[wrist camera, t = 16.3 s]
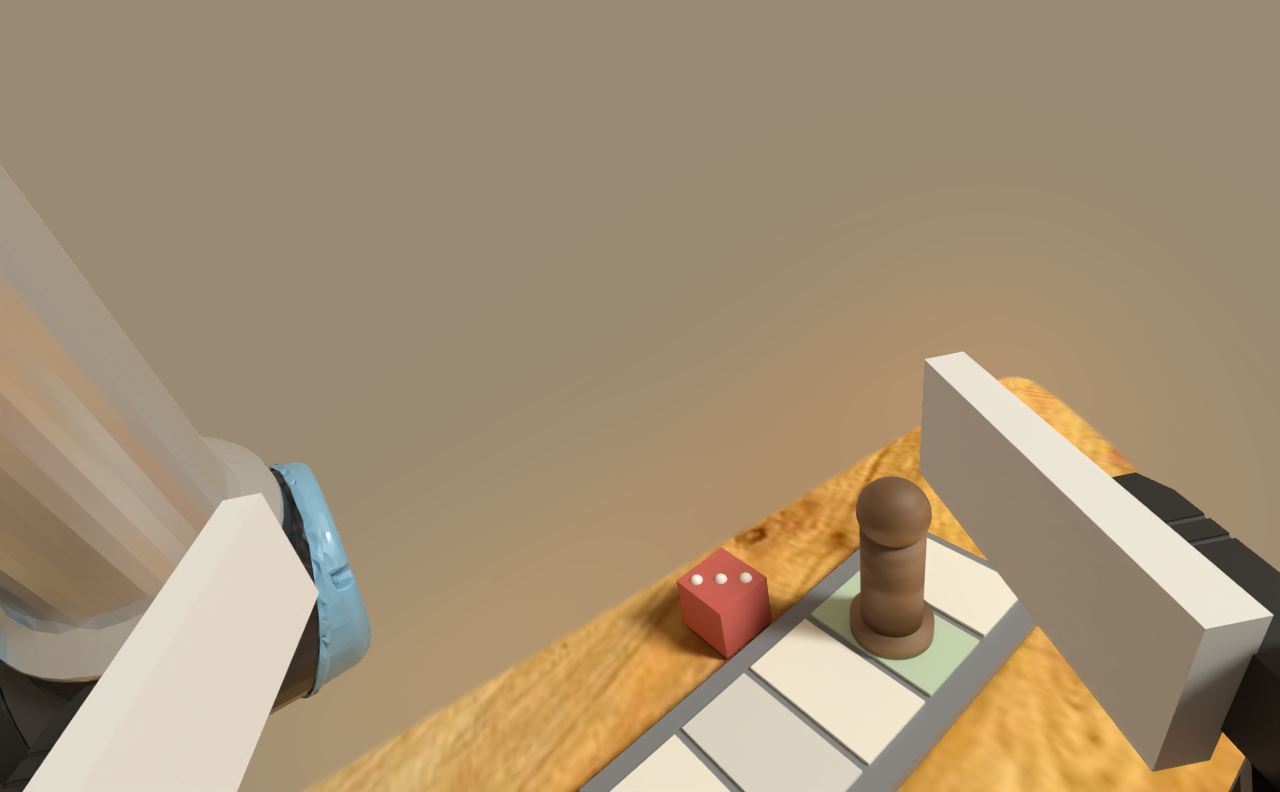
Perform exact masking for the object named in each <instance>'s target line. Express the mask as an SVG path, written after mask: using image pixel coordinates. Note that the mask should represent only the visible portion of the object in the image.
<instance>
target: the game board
mask: <svg viewBox="0 0 1280 792" xmlns="http://www.w3.org/2000/svg"><path fill="white" fill-rule="evenodd" d="M858 593H860V548H859V549H858V550H857V551H856V552H855V553H854V554H852V555H851V556H850V557H849V558H848V559H847V560H846V561H844V562H843V563H842V564H841V565H840V566H839V567H837V568H836V569H835V570H834V571H833V572H832V573H830V574H829V575H828V576H827V577H826V578H825V579H823V580H822V581H821V582H820V583H819V584H818V585H816V586H815V587H814V588H813V589H812V590H811V591H810V592H808V593H807V594H806V595H805V596H804V597H803V598H801V599H800V600H799V601H798V602H797V603H796V604H794V605H793V606H792V607H791V608H790V609H789V610H787V611H786V612H785V613H784V614H783V615H782V616H780V617H779V618H778V619H777V620H776V621H775V622H774V623H772V624H771V625H770V626H769V627H768V628H767V629H765V630H764V631H763V632H762V633H761V634H760V635H758V636H757V637H756V638H755V639H754V640H753V641H751V642H750V643H749V644H748V645H747V646H746V647H744V648H743V649H742V650H741V651H740V652H739V653H738V654H736V655H735V656H734V657H733V658H732V659H731V660H729V661H728V662H727V663H726V664H725V665H724V666H722V667H721V668H720V669H719V670H718V671H717V672H715V673H714V674H713V675H712V676H711V677H710V678H709V679H707V680H706V681H705V682H704V683H703V684H702V685H700V686H699V687H698V688H697V689H696V690H695V691H693V692H692V693H691V694H690V695H689V696H688V697H686V698H685V699H684V700H683V701H682V702H681V703H679V704H678V705H677V706H676V707H675V708H674V709H673V710H671V711H670V712H669V713H668V714H667V715H666V716H664V717H663V718H662V719H661V720H660V721H659V722H657V723H656V724H655V725H654V726H653V727H652V728H650V729H649V730H648V731H647V732H646V733H645V734H643V735H642V736H641V737H640V738H639V739H638V740H637V741H635V742H634V743H633V744H632V745H631V746H630V747H628V748H627V749H626V750H625V751H624V752H623V753H621V754H620V755H619V756H618V757H617V758H616V759H614V760H613V761H612V762H611V763H610V764H609V765H607V766H606V767H605V768H604V769H603V770H602V771H601V772H599V773H598V774H597V775H596V776H595V777H594V778H592V779H591V780H590V781H589V782H588V783H587V784H585V785H584V786H583V787H582V788H581V789H580V790H579V792H896V791H897V790H898V789H899V788H900V787H901V785H902V784H903V783H904V782H905V781H906V779H907V778H908V777H909V776H910V775H911V774H912V772H913V771H914V770H915V769H916V768H917V766H918V765H919V764H920V763H921V762H922V761H923V759H924V758H925V757H926V756H927V755H928V753H929V752H930V751H931V750H932V749H933V748H934V746H935V745H936V744H937V743H938V742H939V741H940V739H941V738H942V737H943V736H944V735H945V733H946V732H947V731H948V730H949V729H950V728H951V726H952V725H953V724H954V723H955V722H956V720H957V719H958V718H959V717H960V716H961V715H962V713H963V712H964V711H965V710H966V709H967V707H968V706H969V705H970V704H971V703H972V702H973V700H974V699H975V698H976V697H977V696H978V695H979V693H980V692H981V691H982V690H983V689H984V687H985V686H986V685H987V684H988V683H989V682H990V680H991V679H992V678H993V677H994V676H995V674H996V673H997V672H998V671H999V670H1000V669H1001V667H1002V666H1003V665H1004V664H1005V663H1006V661H1007V660H1008V659H1009V658H1010V657H1011V656H1012V654H1013V653H1014V652H1015V651H1016V650H1017V649H1018V647H1019V646H1020V645H1021V644H1022V643H1023V641H1024V640H1025V639H1026V638H1027V637H1028V636H1029V634H1030V633H1031V632H1032V631H1033V630H1034V628H1035V627H1036V626H1037V625H1038V624H1037V623H1036V621H1035V620H1034V619H1033V618H1032V616H1031V615H1030V614H1029V612H1028V611H1027V610H1026V609H1025V607H1024V606H1023V605H1022V603H1021V602H1020V601H1019V600H1018V598H1017V597H1016V596H1015V594H1014V593H1013V592H1012V591H1011V589H1010V588H1009V587H1008V585H1007V584H1006V583H1005V582H1004V580H1003V579H1002V578H1001V576H1000V575H999V574H998V573H997V571H996V570H995V569H994V567H993V566H992V565H991V564H990V562H988V561H986V560H984V559H982V558H980V557H978V556H976V555H974V554H972V553H970V552H968V551H966V550H964V549H962V548H960V547H958V546H955V545H953V544H951V543H949V542H947V541H945V540H943V539H941V538H939V537H937V536H935V535H933V534H931V533H929V532H927V545H926V565H925V585H924V600H925V601H926V602H927V603H928V604H929V605H930V607H931V609H932V611H933V613H934V618H935V625H934V637H933V641H932V643H931V645H930V647H929V648H928V649H927V650H926V651H925V652H924V653H922V654H921V655H919V656H916V657H914V658H910V659H905V660H892V659H886V658H882V657H879V656H877V655H874V654H872V653H870V652H869V651H867V650H866V649H864V648H863V647H862V646H861V645H860V644H859V643H858V642H857V641H856V640H855V638H854V636H853V634H852V632H851V628H850V605H851V602H852V600H853V599H854V597H855V596H856V595H857V594H858Z"/></svg>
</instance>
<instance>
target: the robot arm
mask: <svg viewBox="0 0 1280 792" xmlns="http://www.w3.org/2000/svg"><path fill="white" fill-rule="evenodd" d="M919 472H920V473H921V475H922V476H923V477H924V479H925V480H926V481H927V482H928V484H929V485H930V486H931V488H932V489H933V490H934V491H935V493H936V494H937V495H938V497H939V498H940V499H941V500H942V502H943V503H944V504H945V506H946V507H947V508H948V509H949V511H950V512H951V513H952V515H953V516H954V517H955V518H956V520H957V521H958V522H959V524H960V525H961V526H962V528H963V529H964V530H965V531H966V533H967V534H968V535H969V537H970V538H971V539H972V540H973V542H974V543H975V544H976V546H977V547H978V548H979V549H980V551H981V552H982V553H983V555H984V556H985V557H986V558H987V560H988V561H989V562H990V564H991V565H992V566H993V567H994V569H995V570H996V571H997V573H998V574H999V575H1000V576H1001V578H1002V579H1003V580H1004V582H1005V583H1006V584H1007V585H1008V587H1009V588H1010V589H1011V591H1012V592H1013V593H1014V594H1015V596H1016V597H1017V598H1018V600H1019V601H1020V602H1021V603H1022V605H1023V606H1024V607H1025V609H1026V610H1027V611H1028V612H1029V614H1030V615H1031V616H1032V618H1033V619H1034V620H1035V621H1036V623H1037V624H1038V625H1039V627H1040V628H1041V629H1042V630H1043V632H1044V633H1045V634H1046V636H1047V637H1048V638H1049V639H1050V641H1051V642H1052V643H1053V645H1054V646H1055V647H1056V648H1057V650H1058V651H1059V652H1060V654H1061V655H1062V656H1063V657H1064V659H1065V660H1066V661H1067V663H1068V664H1069V665H1070V666H1071V668H1072V669H1073V670H1074V672H1075V673H1076V674H1077V675H1078V677H1079V678H1080V679H1081V681H1082V682H1083V683H1084V684H1085V686H1086V687H1087V688H1088V690H1089V691H1090V692H1091V693H1092V695H1093V696H1094V697H1095V699H1096V700H1097V701H1098V702H1099V704H1100V705H1101V706H1102V708H1103V709H1104V710H1105V711H1106V713H1107V714H1108V715H1109V717H1110V718H1111V719H1112V720H1113V722H1114V723H1115V724H1116V726H1117V727H1118V728H1119V729H1120V731H1121V732H1122V733H1123V735H1124V736H1125V737H1126V739H1127V740H1128V741H1129V742H1130V744H1131V745H1132V746H1133V748H1134V749H1135V750H1136V751H1137V753H1138V754H1139V755H1140V757H1141V758H1142V759H1143V760H1144V762H1145V763H1146V764H1147V766H1148V767H1149V768H1150V769H1151V771H1152V772H1154V771H1159V770H1164V769H1169V768H1174V767H1179V766H1183V765H1188V764H1193V763H1198V762H1203V761H1208V760H1210V759H1211V756H1212V754H1213V752H1214V750H1215V747H1216V745H1217V743H1218V740H1219V738H1220V736H1221V734H1222V732H1223V733H1224V734H1225V735H1226V736H1227V737H1228V738H1229V739H1230V740H1231V741H1232V743H1233V744H1234V745H1235V746H1236V747H1237V748H1238V749H1239V750H1240V751H1241V752H1242V753H1243V755H1244V756H1245V759H1244V761H1243V763H1242V765H1241V767H1240V770H1239V772H1238V774H1237V776H1236V778H1235V780H1234V782H1233V784H1232V786H1231V788H1230V790H1229V792H1280V572H1278V571H1277V570H1276V569H1275V568H1273V567H1272V566H1271V565H1270V564H1268V563H1267V562H1266V561H1264V560H1263V559H1262V558H1260V557H1259V556H1258V555H1257V554H1255V553H1254V552H1253V551H1251V550H1250V549H1249V548H1247V547H1246V546H1245V545H1244V544H1243V543H1241V542H1240V541H1239V540H1238V539H1236V538H1234V539H1232V538H1231V537H1230V536H1229V533H1228V532H1227V531H1226V530H1225V529H1223V528H1222V527H1221V526H1220V525H1218V524H1217V523H1216V522H1215V521H1213V520H1212V519H1211V518H1209V519H1206V518H1205V516H1204V513H1203V512H1202V511H1200V510H1199V509H1198V508H1197V507H1195V506H1194V505H1193V504H1191V503H1190V502H1189V501H1187V500H1186V499H1185V498H1184V497H1183V496H1181V495H1180V494H1179V493H1177V492H1176V491H1175V490H1173V489H1171V488H1169V487H1167V486H1164V485H1162V484H1160V483H1158V482H1156V481H1153V480H1151V479H1149V478H1147V477H1145V476H1142V475H1140V474H1138V473H1131V474H1126V475H1121V476H1116V477H1110V476H1109V475H1108V474H1107V473H1105V472H1104V471H1103V470H1102V469H1101V468H1100V467H1098V466H1097V465H1096V464H1095V463H1094V462H1093V461H1091V460H1090V459H1089V458H1088V457H1087V456H1085V455H1084V454H1083V453H1082V452H1081V451H1080V450H1078V449H1077V448H1076V447H1075V446H1074V445H1073V444H1071V443H1070V442H1069V441H1068V440H1067V439H1065V438H1064V437H1063V436H1062V435H1061V434H1060V433H1058V432H1057V431H1056V430H1055V429H1054V428H1052V427H1051V426H1050V425H1049V424H1048V423H1047V422H1045V421H1044V420H1043V419H1042V418H1041V417H1040V416H1038V415H1037V414H1036V413H1035V412H1034V411H1032V410H1031V409H1030V408H1029V407H1028V406H1027V405H1025V404H1024V403H1023V402H1022V401H1021V400H1019V399H1018V398H1017V397H1016V396H1015V395H1014V394H1012V393H1011V392H1010V391H1009V390H1008V389H1007V388H1005V387H1004V386H1003V385H1002V384H1001V383H999V382H998V381H997V380H996V379H995V378H993V377H992V376H991V375H990V374H989V373H988V372H986V371H985V370H984V369H983V368H982V367H981V366H979V365H978V364H977V363H976V362H974V360H972V359H971V358H970V357H969V356H968V355H966V354H965V353H964V352H960V353H954V354H949V355H944V356H939V357H934V358H929V359H925V362H924V382H923V402H922V423H921V443H920V464H919ZM370 641H371V629H370V624H369V620H368V617H367V613H366V610H365V606H364V603H363V600H362V597H361V594H360V591H359V589H358V586H357V583H356V580H355V578H354V576H353V573H352V572H351V571H350V564H349V562H348V559H347V556H346V553H345V549H344V546H343V544H342V541H341V538H340V536H339V533H338V531H337V528H336V525H335V523H334V520H333V518H332V515H331V513H330V510H329V508H328V505H327V503H326V500H325V498H324V496H323V493H322V491H321V489H320V487H319V484H318V482H317V480H316V478H315V476H314V474H313V472H312V470H311V469H310V468H309V467H308V466H307V465H306V464H303V463H299V462H292V463H289V464H286V465H282V464H275V465H274V466H270V467H267V466H266V464H265V463H263V461H261V459H260V458H259V457H258V456H257V455H255V454H254V453H252V452H250V451H249V450H248V449H246V448H244V447H241V446H239V445H237V444H234V443H231V442H227V441H224V440H221V439H215V438H208V437H200V436H199V434H198V433H197V431H196V430H195V429H194V428H193V426H192V425H191V423H190V422H189V421H188V419H187V418H186V416H185V415H184V414H183V413H182V411H181V410H180V408H179V407H178V406H177V405H176V403H175V402H174V400H173V399H172V397H171V396H170V395H169V393H168V392H167V391H166V389H165V388H164V386H163V385H162V384H161V382H160V381H159V380H158V378H157V377H156V376H155V374H154V373H153V371H152V370H151V369H150V368H149V366H148V365H147V363H146V362H145V361H144V359H143V358H142V356H141V355H140V354H139V352H138V351H137V350H136V348H135V347H134V345H133V344H132V343H131V341H130V340H129V339H128V337H127V336H126V335H125V333H124V332H123V330H122V329H121V328H120V326H119V325H118V324H117V322H116V321H115V320H114V318H113V317H112V315H111V314H110V313H109V311H108V310H107V309H106V307H105V306H104V305H103V303H102V302H101V301H100V299H99V298H98V297H97V295H96V294H95V292H94V291H93V290H92V288H91V287H90V286H89V284H88V283H87V281H86V280H85V279H84V277H83V276H82V275H81V273H80V272H79V271H78V269H77V268H76V266H75V265H74V264H73V262H72V261H71V260H70V258H69V257H68V256H67V254H66V253H65V251H64V250H63V249H62V247H61V246H60V244H59V243H58V242H57V240H56V239H55V238H54V236H53V235H52V234H51V232H50V231H49V229H48V228H47V227H46V225H45V224H44V223H43V221H42V220H41V219H40V217H39V216H38V214H37V213H36V212H35V210H34V209H33V208H32V206H31V205H30V204H29V202H28V201H27V199H26V198H25V197H24V195H23V194H22V193H21V191H20V190H19V189H18V187H17V186H16V185H15V183H14V182H13V180H12V179H11V178H10V176H9V175H8V174H7V172H6V171H5V169H4V168H3V167H2V165H1V164H0V792H237V790H238V788H239V786H240V783H241V781H242V779H243V776H244V774H245V771H246V769H247V766H248V764H249V761H250V759H251V757H252V754H253V752H254V749H255V747H256V745H257V742H258V740H259V737H260V735H261V732H262V730H263V728H264V725H265V723H266V720H267V718H268V716H269V715H270V714H272V713H274V712H275V711H277V710H279V709H281V708H282V707H285V706H286V705H288V704H290V703H292V702H293V701H295V700H297V699H299V698H308V697H311V696H313V695H315V694H316V693H317V692H318V691H319V690H320V689H321V687H322V685H324V684H326V683H327V682H329V681H331V680H332V679H334V678H335V677H337V676H339V675H340V674H342V673H343V672H345V671H347V670H348V669H350V668H351V667H353V666H355V665H356V664H357V663H359V661H360V660H361V659H362V658H363V657H364V655H365V654H366V652H367V650H368V648H369V645H370Z"/></svg>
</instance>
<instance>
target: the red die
mask: <svg viewBox="0 0 1280 792" xmlns="http://www.w3.org/2000/svg"><path fill="white" fill-rule="evenodd" d="M677 586H678V591H679V596H680V601H681V606H682V610H683V615H684V620H685V624H686V625H687V626H688V627H690V628H691V629H692V630H693V631H694V632H696V633H697V634H698V635H699V636H700V637H702V638H703V639H704V640H705V641H706V642H708V643H709V644H710V645H711V646H712V647H714V648H715V649H716V650H717V651H719V652H720V653H721V654H722V655H723V656H725V657H726V658H727V659H728V658H729V657H731V656H732V655H733V654H734V653H735V652H736V651H738V650H739V649H740V648H741V647H742V646H743V645H745V644H746V643H747V642H748V641H749V640H750V639H752V638H753V637H754V636H755V635H756V634H757V633H759V632H760V631H761V630H762V629H763V628H764V627H766V626H767V625H768V624H769V623H770V622H771V614H770V605H769V596H768V587H767V579H766V577H765V576H764V575H762V574H761V573H759V572H758V571H756V570H755V569H753V568H752V567H750V566H749V565H747V564H746V563H744V562H743V561H741V560H740V559H738V558H737V557H735V556H734V555H732V554H731V553H729V552H728V551H726V550H725V549H723V548H722V547H721V548H720V549H719V550H717V551H716V552H715V553H713V554H712V555H711V556H709V557H708V558H707V559H705V560H704V561H703V562H701V563H700V564H698V565H697V566H696V567H694V568H693V569H692V570H690V571H689V572H688V573H686V574H685V575H684V576H682V577H681V578H680V579H678V580H677Z"/></svg>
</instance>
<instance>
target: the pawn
mask: <svg viewBox="0 0 1280 792" xmlns="http://www.w3.org/2000/svg"><path fill="white" fill-rule="evenodd" d="M856 517H857V521H858V524H859V526H860V593H858V594H857V595H856V596H855V597H854V599H853V600H852V602H851V605H850V628H851V632H852V634H853V636H854V638H855V640H856V641H857V642H858V643H859V644H860V645H861V646H862V647H863V648H864V649H866V650H867V651H869V652H870V653H872V654H874V655H877V656H879V657H882V658H886V659H892V660H905V659H910V658H914V657H916V656H919V655H921V654H922V653H924V652H925V651H926V650H927V649H928V648H929V647H930V645H931V643H932V641H933V637H934V625H935V618H934V613H933V611H932V609H931V607H930V605H929V604H928V603H927V602H926V601H925V600H924V585H925V565H926V545H927V531H928V529H929V526H930V524H931V518H932V513H931V506H930V503H929V500H928V498H927V496H926V495H925V493H924V492H923V491H922V490H921V489H920V488H919V487H918V486H917V485H916V484H914V483H913V482H911V481H909V480H906V479H904V478H900V477H883V478H879V479H877V480H875V481H873V482H871V483H870V484H868V485H867V486H866V487H865V488H864V489H863V491H862V492H861V494H860V495H859V498H858V500H857V504H856Z"/></svg>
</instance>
